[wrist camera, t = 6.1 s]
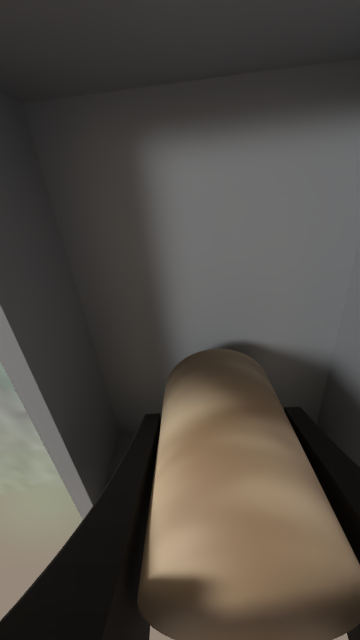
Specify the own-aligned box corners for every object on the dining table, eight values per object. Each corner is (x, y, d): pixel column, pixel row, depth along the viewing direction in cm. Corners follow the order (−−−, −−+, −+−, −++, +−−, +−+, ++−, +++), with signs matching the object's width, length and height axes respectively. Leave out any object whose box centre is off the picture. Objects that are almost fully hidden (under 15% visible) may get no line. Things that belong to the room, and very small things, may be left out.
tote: (422, 23, 7) (769, -231, 3) (323, 424, 15) (379, 517, 11) (1, 82, 8) (-213, -49, 4) (112, 433, 16) (84, 522, 12)
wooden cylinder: (269, 342, 11) (396, 540, 4) (269, 428, 13) (355, 652, 6) (156, 355, 11) (112, 551, 5) (173, 435, 13) (158, 653, 7)
